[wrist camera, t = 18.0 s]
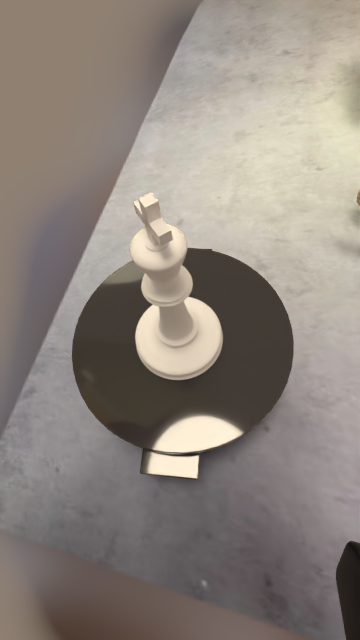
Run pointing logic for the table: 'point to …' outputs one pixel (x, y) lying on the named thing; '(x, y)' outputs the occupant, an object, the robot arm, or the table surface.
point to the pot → (190, 394)
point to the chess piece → (170, 302)
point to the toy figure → (358, 198)
